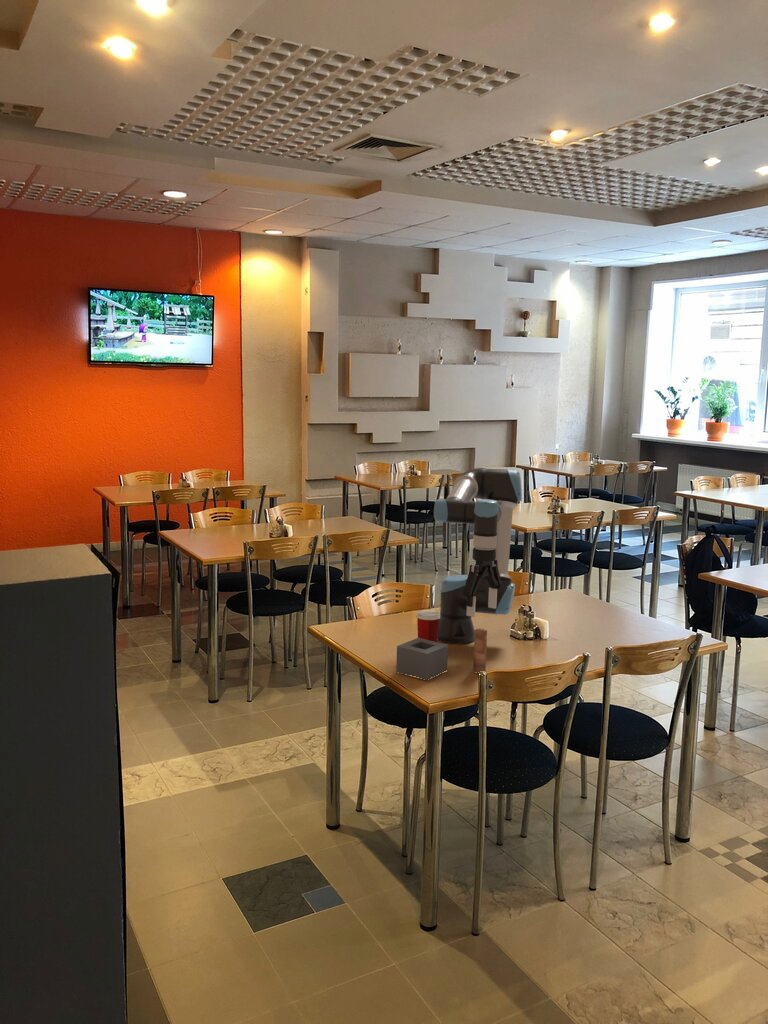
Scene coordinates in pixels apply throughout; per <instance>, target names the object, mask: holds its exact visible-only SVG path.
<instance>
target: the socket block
mask: <svg viewBox="0 0 768 1024" xmlns="http://www.w3.org/2000/svg"><path fill="white" fill-rule="evenodd" d="M448 663H449V644H447V643H442V642H438V641H437V642H434V641H430V640H426V639H421V638H418V637H417V638H414V639H412V640H411V639H410V640H407V642H404V643H401V644H399V645H397V646H396V665H395V666H396V672H399V673H403V674H407V675H412V676H416V677H419V678H422V679H425V680H428V679H430V678H431V677H434V676H436V675H438V674H440V673H442V672H444V671H446V670H447V671H448V666H449V665H448ZM396 672H395V673H396ZM399 673H398V674H399ZM403 674H402V675H403ZM407 675H406V676H407ZM434 678H435V677H434ZM430 680H431V679H430ZM428 681H429V680H428Z"/></svg>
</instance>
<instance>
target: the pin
mask: <svg viewBox="0 0 768 1024" xmlns="http://www.w3.org/2000/svg"><path fill="white" fill-rule="evenodd" d="M474 630H475V640H474V641H473V642H474V645H473V666H472V668H473V669H472V672H473V671H474V672H473V673H475V672H477V673H476V674H479V673H478V672H480V671H485V672H486V666H487V645H488V644H487V641H488V630H487V629H485V628H474Z"/></svg>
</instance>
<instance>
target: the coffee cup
mask: <svg viewBox="0 0 768 1024" xmlns="http://www.w3.org/2000/svg"><path fill="white" fill-rule="evenodd" d="M415 618H416V620H417V621H416V622H417V623H416V624H417V638H421V639H426V640H430V641H434V642H438V640H437V635H438V624H439V618H440V613H439V612H438V611H436V610H431V609H423V610H419V611H418V612H417V613H416V615H415Z"/></svg>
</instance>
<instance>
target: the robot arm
mask: <svg viewBox="0 0 768 1024" xmlns="http://www.w3.org/2000/svg"><path fill="white" fill-rule="evenodd" d="M451 487H452V489H451V491H450V493H449V494H448V496H447V497H446V498H443V499H436V500H435V501H434V507H433V518H434V521H436V522H441V523H445V524H446V523H453V524H454V523H455V524H467V525H468V524H469V525H473V536H472V539H473V541H472V547H473V548H472V560H474V562H475V565H474V564H470V565H469V569H468V570H469V571H468V574H456V575H450V576H447V577H444V579H442V581H441V586H440V591H439V592H440V604H439V605H440V608H439V610H440V612H439V616H440V618H439V624H438V635H437V639H438V640H437V641H439V640H441V641H440V642H442V641H445V642H444V643H446V642H450V643H449V644H455V643H461V644H469V643H472V642H474V641H475V626H474V622H473V619H472V618H474V617H476V613H477V614H489V615H490V614H491V615H496V616H497V615H502V616H503V615H505V616H506V615H507V614H509V613H510V611H511V609H512V606H513V602H514V596H515V590H516V584H515V583H514V582H512V581H513V580H512V577H511V576H510V575H509V563H510V551H511V550H510V549H511V536H512V527H513V526H512V522H513V513H514V512H513V511H514V510H515V508H517V507H518V503H520V502H522V500H523V497H522V496H523V493H522V491H523V489H522V479H521V474H520V472H519V471H518V470H516V469H508V468H506V469H505V468H484V467H477V468H472V469H468V470H466V471H464V472H462V473H460V474H459V475H458V476H457V477H456V478H455V479H454V481H453V483H452V486H451ZM473 499H477V500H476V501H475V500H474V501H472V500H473ZM468 642H469V643H468Z"/></svg>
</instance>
